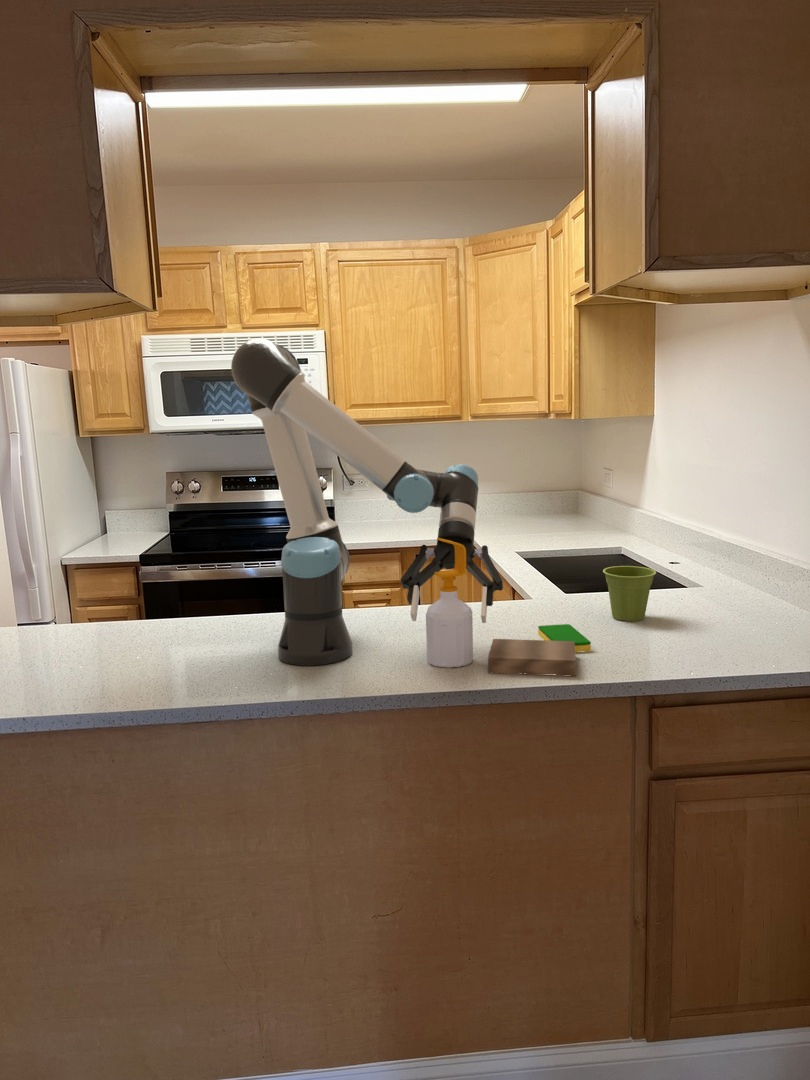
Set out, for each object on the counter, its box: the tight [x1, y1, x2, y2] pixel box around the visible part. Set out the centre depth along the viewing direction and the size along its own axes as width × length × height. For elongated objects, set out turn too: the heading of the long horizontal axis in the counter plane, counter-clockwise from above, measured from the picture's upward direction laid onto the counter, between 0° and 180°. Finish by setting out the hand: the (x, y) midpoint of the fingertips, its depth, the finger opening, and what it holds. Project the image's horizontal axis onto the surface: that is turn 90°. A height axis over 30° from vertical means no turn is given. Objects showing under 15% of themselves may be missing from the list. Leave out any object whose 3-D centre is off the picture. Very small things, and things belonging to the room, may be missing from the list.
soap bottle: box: [425, 537, 474, 669], centre depth 145 cm, size 9×9×25 cm
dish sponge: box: [537, 623, 592, 653], centre depth 157 cm, size 7×14×2 cm, turn 6°
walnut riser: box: [487, 638, 577, 677], centre depth 143 cm, size 16×12×3 cm
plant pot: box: [602, 565, 657, 622], centre depth 173 cm, size 12×12×11 cm
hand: (448, 618), depth 143 cm, fingers open, 13 cm apart
